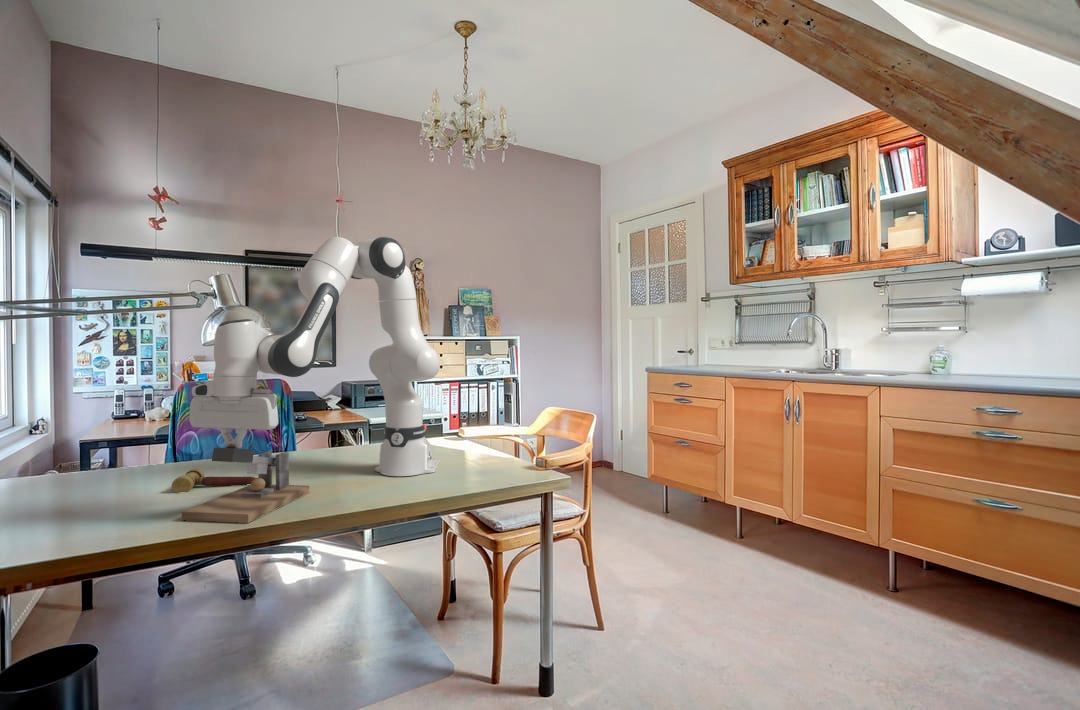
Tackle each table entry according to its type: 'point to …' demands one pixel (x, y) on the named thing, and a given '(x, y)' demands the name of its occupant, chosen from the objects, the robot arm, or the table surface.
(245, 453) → the lever
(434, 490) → the table surface
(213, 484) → the gavel
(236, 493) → the nutcracker base
